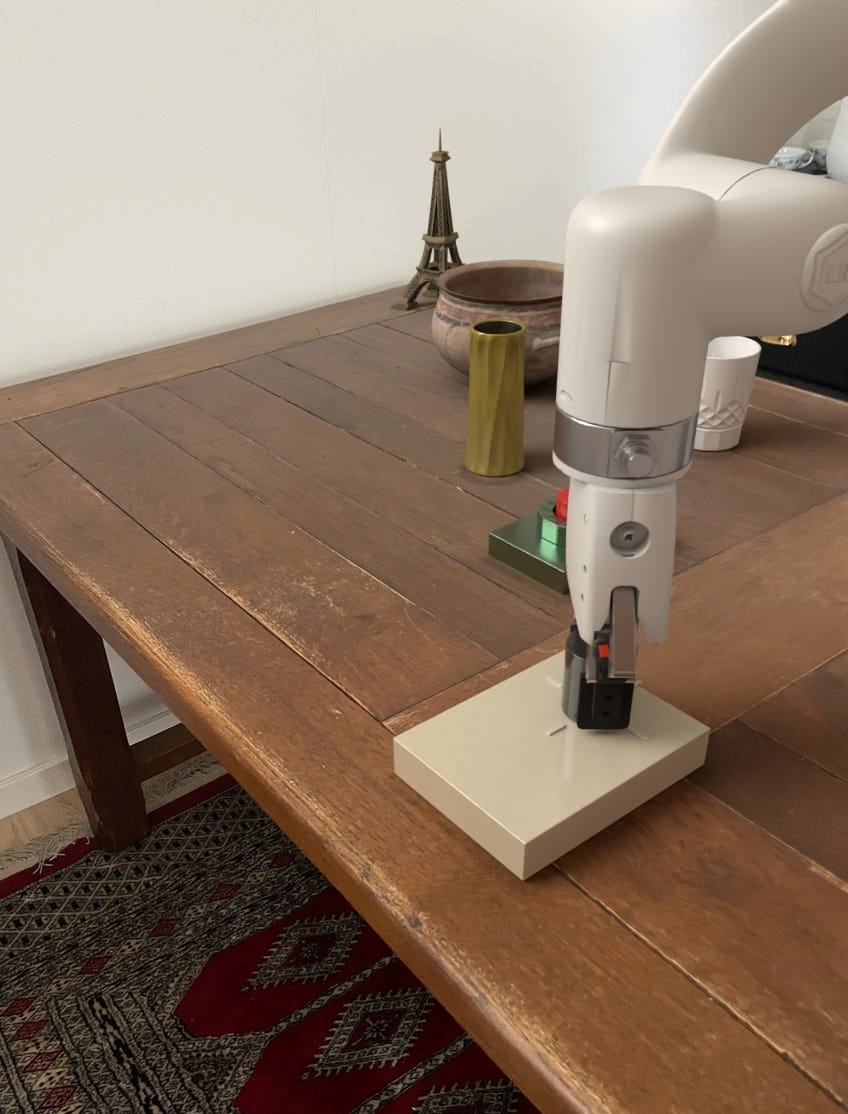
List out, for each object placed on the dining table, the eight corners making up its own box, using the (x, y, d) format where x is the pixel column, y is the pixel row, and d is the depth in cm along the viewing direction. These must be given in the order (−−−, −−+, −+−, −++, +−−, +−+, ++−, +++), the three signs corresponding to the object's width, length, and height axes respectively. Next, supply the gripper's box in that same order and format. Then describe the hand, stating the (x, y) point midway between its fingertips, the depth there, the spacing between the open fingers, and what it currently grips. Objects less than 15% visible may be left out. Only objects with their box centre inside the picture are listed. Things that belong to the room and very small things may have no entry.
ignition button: (576, 501, 90) (577, 483, 89) (607, 515, 87) (609, 497, 86) (546, 514, 88) (547, 495, 87) (577, 528, 85) (579, 510, 84)
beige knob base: (571, 678, 74) (574, 642, 72) (707, 762, 66) (714, 724, 64) (393, 773, 66) (392, 735, 65) (522, 881, 58) (525, 842, 56)
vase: (500, 483, 101) (505, 340, 94) (452, 467, 105) (452, 328, 97) (535, 462, 105) (543, 323, 97) (488, 448, 109) (491, 313, 101)
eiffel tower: (489, 300, 154) (494, 115, 140) (449, 318, 147) (449, 126, 133) (432, 290, 160) (431, 112, 146) (391, 308, 153) (385, 122, 139)
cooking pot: (400, 361, 133) (398, 264, 126) (532, 340, 137) (536, 245, 131) (481, 429, 113) (483, 318, 106) (631, 402, 118) (643, 294, 111)
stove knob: (558, 686, 68) (563, 619, 65) (625, 687, 68) (633, 620, 65) (564, 728, 65) (569, 659, 62) (634, 729, 64) (643, 660, 61)
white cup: (655, 444, 108) (667, 351, 102) (683, 419, 113) (695, 329, 107) (730, 460, 104) (746, 363, 98) (755, 433, 109) (771, 340, 103)
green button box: (584, 513, 95) (587, 473, 93) (660, 548, 89) (665, 507, 87) (488, 554, 90) (489, 513, 87) (562, 595, 84) (565, 552, 81)
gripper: (730, 503, 49) (681, 790, 59) (664, 379, 63) (634, 628, 73) (571, 505, 49) (550, 789, 59) (540, 382, 63) (527, 629, 73)
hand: (596, 698), depth 66 cm, fingers closed on stove knob, 4 cm apart
